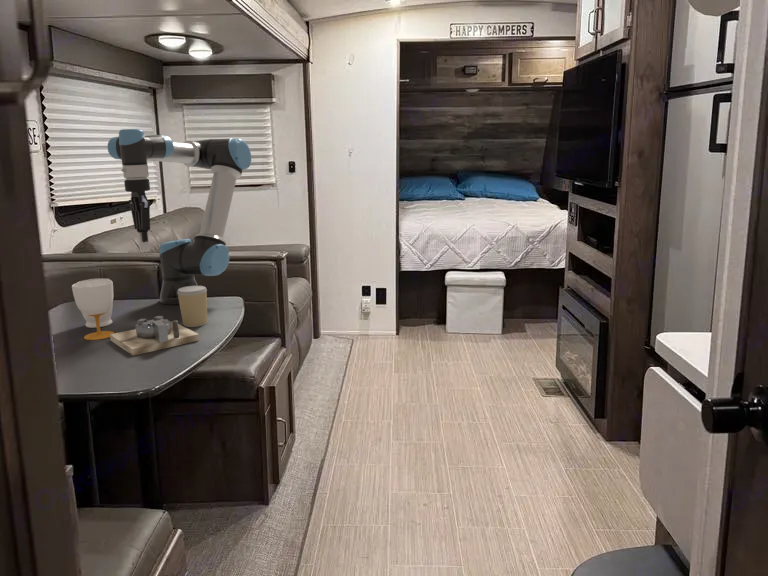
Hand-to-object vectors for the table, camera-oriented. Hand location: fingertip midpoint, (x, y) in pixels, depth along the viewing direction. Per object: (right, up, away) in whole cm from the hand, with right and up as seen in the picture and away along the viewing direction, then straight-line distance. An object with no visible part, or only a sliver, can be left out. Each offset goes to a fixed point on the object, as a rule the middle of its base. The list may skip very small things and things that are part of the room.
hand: (145, 251), depth 213 cm
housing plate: (+8, -28, -14) cm, 32 cm away
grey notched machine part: (+10, -26, -17) cm, 33 cm away
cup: (-12, -27, -7) cm, 31 cm away
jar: (-18, -25, +6) cm, 31 cm away
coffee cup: (+16, -24, +3) cm, 29 cm away
